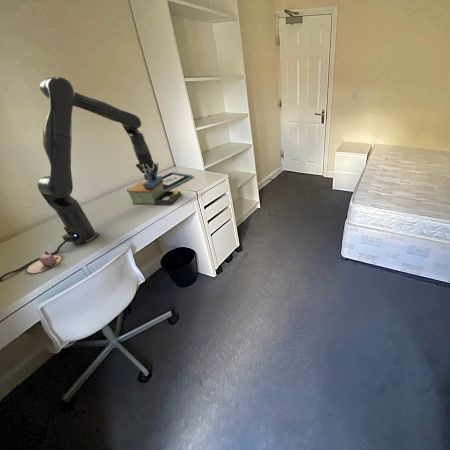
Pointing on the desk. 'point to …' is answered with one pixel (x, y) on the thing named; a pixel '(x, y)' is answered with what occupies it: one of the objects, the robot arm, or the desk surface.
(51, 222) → the desk surface
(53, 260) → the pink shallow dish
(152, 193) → the cabinet
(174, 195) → the scrap yellow
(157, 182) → the brush
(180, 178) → the sketchbook
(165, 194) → the tray
